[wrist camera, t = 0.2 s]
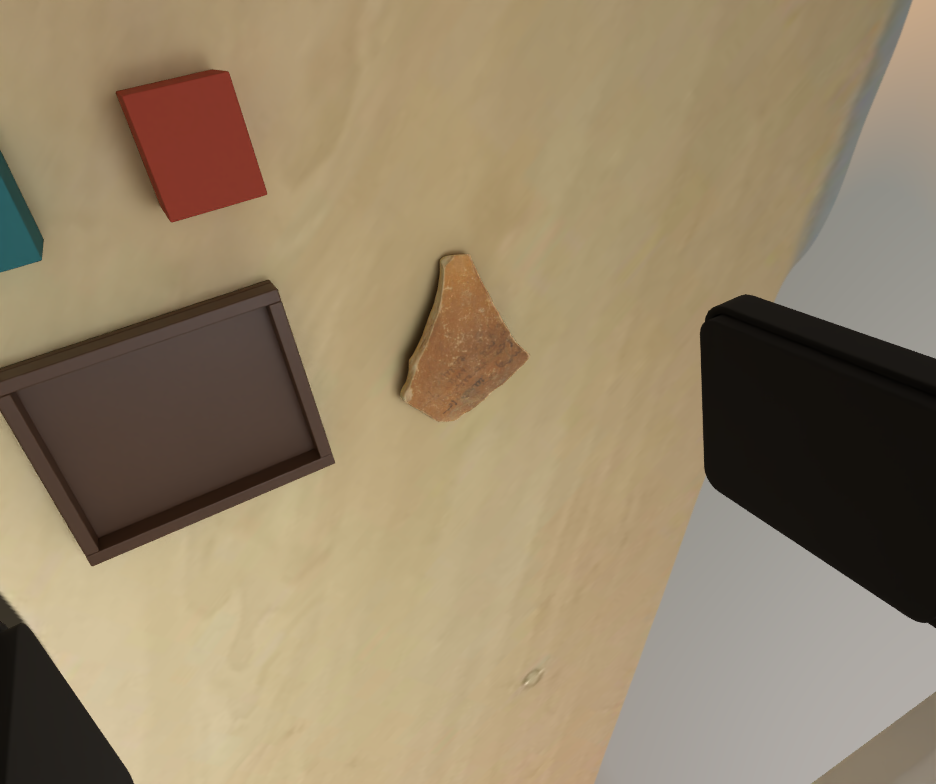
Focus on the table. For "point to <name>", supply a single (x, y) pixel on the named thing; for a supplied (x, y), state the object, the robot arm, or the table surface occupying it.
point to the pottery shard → (460, 346)
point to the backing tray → (167, 419)
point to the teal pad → (16, 225)
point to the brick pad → (193, 143)
